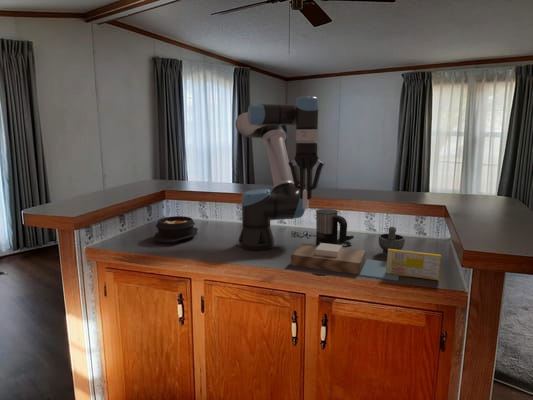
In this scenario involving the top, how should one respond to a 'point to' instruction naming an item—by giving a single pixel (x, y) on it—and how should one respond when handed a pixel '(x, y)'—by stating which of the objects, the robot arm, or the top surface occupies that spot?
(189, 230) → the casserole
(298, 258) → the panel
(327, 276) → the top surface
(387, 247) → the mortar and pestle
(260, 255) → the top surface
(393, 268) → the candy box
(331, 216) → the milk frother
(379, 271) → the mat
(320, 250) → the tile
